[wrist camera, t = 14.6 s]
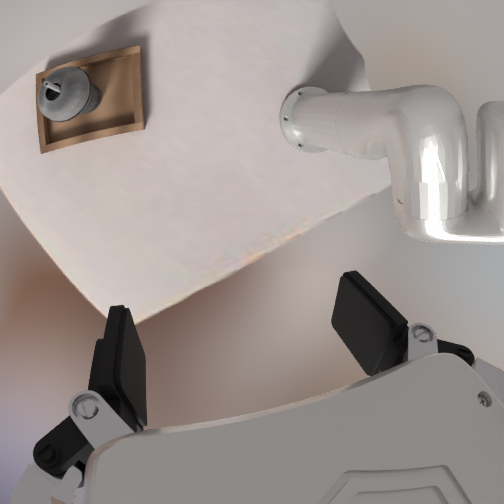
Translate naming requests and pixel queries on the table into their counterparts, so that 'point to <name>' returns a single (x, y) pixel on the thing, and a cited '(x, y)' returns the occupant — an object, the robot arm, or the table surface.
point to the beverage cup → (68, 94)
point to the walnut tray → (112, 104)
